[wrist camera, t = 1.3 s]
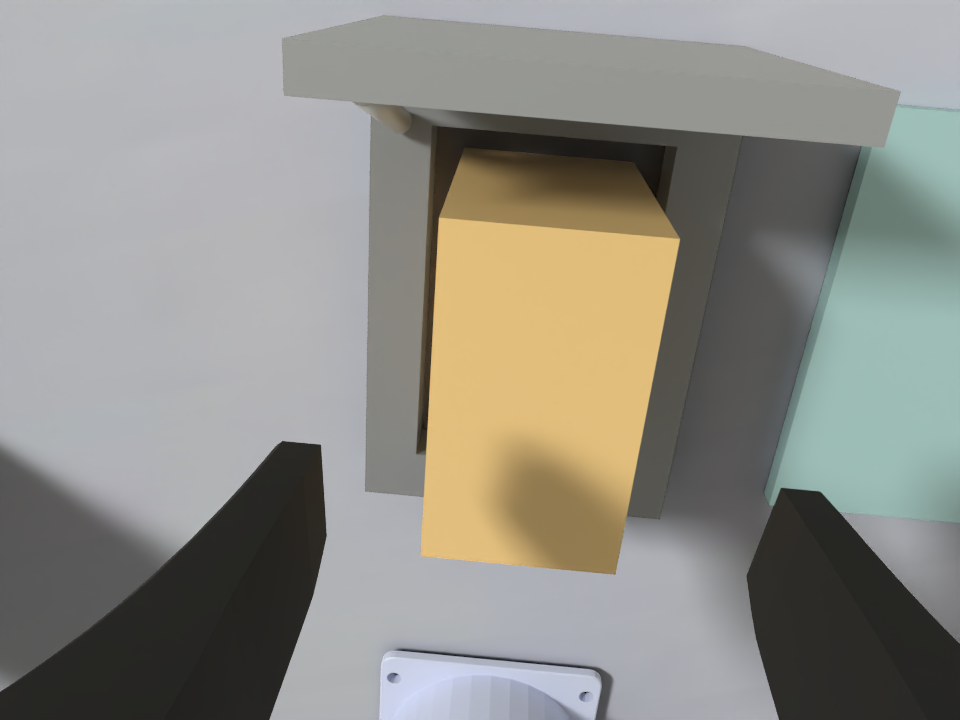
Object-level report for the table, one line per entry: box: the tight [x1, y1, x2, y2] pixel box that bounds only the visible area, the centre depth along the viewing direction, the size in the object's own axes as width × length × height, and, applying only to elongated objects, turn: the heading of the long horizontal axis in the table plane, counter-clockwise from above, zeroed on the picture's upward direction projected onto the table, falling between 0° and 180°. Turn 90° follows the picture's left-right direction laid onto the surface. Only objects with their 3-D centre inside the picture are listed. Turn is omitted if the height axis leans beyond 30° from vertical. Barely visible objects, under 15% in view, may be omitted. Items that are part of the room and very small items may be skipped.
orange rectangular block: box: [421, 148, 680, 574], centre depth 20 cm, size 8×4×7 cm, turn 176°
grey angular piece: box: [282, 16, 901, 519], centre depth 18 cm, size 13×9×9 cm
